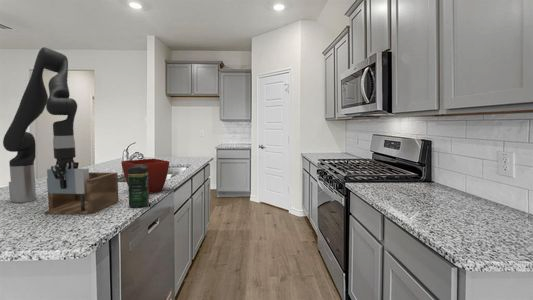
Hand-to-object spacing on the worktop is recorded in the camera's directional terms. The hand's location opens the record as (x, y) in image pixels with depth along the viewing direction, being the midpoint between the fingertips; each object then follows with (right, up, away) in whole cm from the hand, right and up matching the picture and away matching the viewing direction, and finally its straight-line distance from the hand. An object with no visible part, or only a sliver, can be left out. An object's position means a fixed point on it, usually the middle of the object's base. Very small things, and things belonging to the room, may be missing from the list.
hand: (66, 187), depth 128 cm
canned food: (+21, -9, +24) cm, 33 cm away
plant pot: (+18, -7, +40) cm, 45 cm away
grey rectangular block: (+1, -2, 0) cm, 2 cm away
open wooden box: (+1, -10, +9) cm, 13 cm away
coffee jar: (+26, -10, +11) cm, 30 cm away
